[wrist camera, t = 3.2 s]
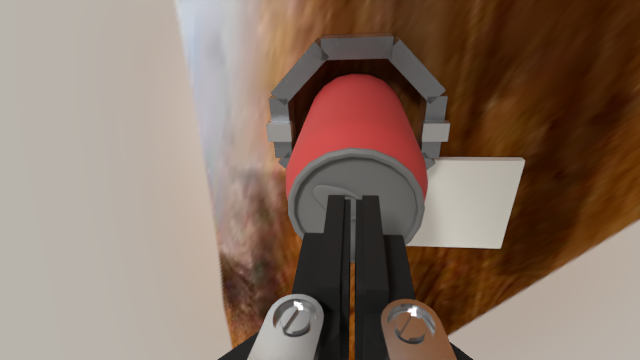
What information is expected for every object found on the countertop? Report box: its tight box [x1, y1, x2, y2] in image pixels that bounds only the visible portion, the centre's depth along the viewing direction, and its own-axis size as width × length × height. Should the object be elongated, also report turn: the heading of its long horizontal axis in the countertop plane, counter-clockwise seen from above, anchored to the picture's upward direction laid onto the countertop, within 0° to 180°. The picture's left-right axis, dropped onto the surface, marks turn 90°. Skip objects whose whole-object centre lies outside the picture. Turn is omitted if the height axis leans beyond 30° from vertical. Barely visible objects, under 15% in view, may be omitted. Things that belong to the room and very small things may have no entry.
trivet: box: [406, 157, 525, 249], centre depth 26 cm, size 8×8×1 cm
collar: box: [266, 33, 450, 170], centre depth 23 cm, size 11×12×3 cm
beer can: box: [286, 73, 428, 263], centre depth 19 cm, size 7×7×12 cm
